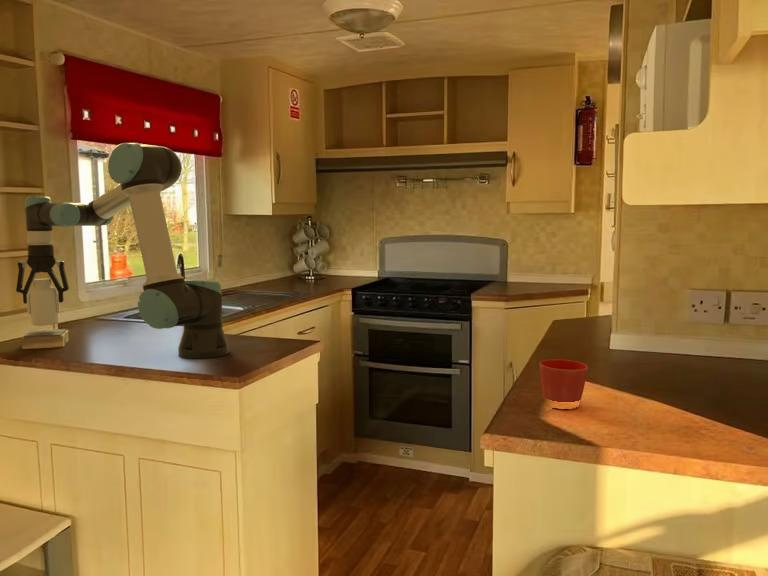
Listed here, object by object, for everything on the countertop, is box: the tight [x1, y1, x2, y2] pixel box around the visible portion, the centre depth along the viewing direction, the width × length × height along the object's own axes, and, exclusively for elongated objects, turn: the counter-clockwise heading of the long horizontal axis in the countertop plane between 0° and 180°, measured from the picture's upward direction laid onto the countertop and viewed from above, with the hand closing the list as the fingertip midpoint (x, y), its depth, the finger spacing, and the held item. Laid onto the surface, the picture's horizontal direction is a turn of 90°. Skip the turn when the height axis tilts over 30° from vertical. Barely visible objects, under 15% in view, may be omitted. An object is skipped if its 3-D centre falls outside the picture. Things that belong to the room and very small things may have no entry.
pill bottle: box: [28, 278, 59, 327], centre depth 215 cm, size 8×8×15 cm
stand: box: [21, 328, 70, 350], centre depth 217 cm, size 12×12×4 cm
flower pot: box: [538, 358, 589, 411], centre depth 149 cm, size 11×11×10 cm
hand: (44, 312), depth 216 cm, fingers closed on pill bottle, 8 cm apart
